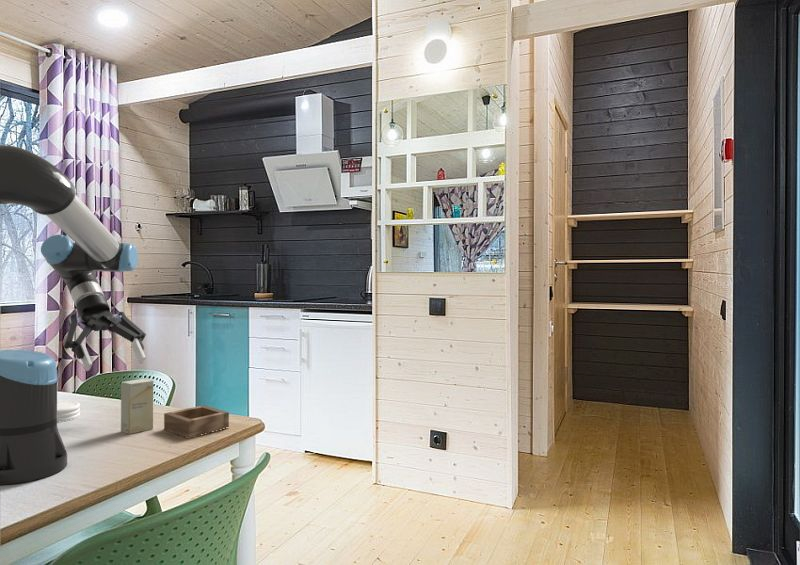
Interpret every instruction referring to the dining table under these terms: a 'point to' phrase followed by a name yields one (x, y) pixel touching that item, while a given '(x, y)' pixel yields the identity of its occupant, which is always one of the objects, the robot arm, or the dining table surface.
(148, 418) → the skincare box
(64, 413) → the white round piece
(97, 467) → the dining table surface
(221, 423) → the holder
